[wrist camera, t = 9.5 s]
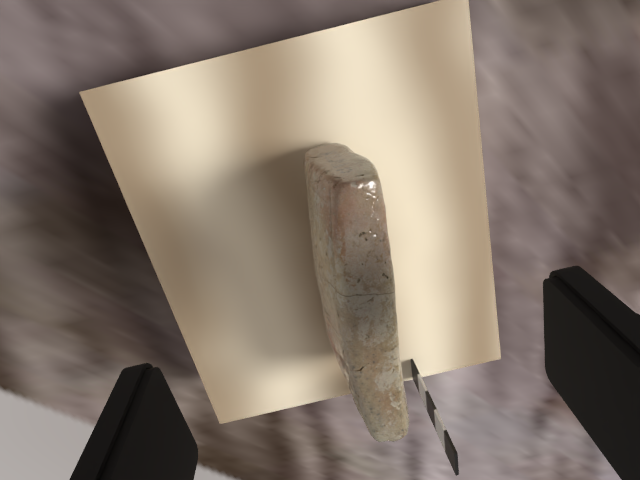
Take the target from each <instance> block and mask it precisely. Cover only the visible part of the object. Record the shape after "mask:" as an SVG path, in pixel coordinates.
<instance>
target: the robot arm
mask: <svg viewBox="0 0 640 480" xmlns="http://www.w3.org/2000/svg"><path fill="white" fill-rule="evenodd" d="M543 302H544V342H545V369H546V373H547V376H548V378H549V380H550V382H551V383H552V385H553V386H554V388H555V389H556V390H557V392H558V393H559V394H560V396H561V397H562V399H563V400H564V401H565V403H566V404H567V405H568V407H569V408H570V409H571V411H572V412H573V414H574V415H575V416H576V418H577V419H578V420H579V422H580V423H581V425H582V426H583V427H584V429H585V430H586V431H587V433H588V434H589V436H590V437H591V438H592V440H593V441H594V442H595V444H596V445H597V447H598V448H599V449H600V451H601V452H602V453H603V455H604V456H605V457H606V459H607V460H608V462H609V463H610V464H611V466H612V467H613V468H614V470H615V471H616V473H617V474H618V475H619V477H620V478H621V479H622V480H640V315H639V314H637V313H635V312H634V311H633V310H631V309H630V308H629V307H628V306H627V305H625V304H624V303H623V302H622V301H621V300H619V299H618V298H617V297H616V296H615V295H613V294H612V293H611V292H610V291H609V290H607V289H606V288H605V287H604V286H603V285H601V284H600V283H599V282H598V281H597V280H595V279H594V278H593V277H592V276H591V275H589V274H588V273H587V272H586V271H585V270H583V269H582V268H581V267H579V266H572V267H568V268H564V269H559V270H555V271H552V272H551V273H550V275H549V278H548V279H545V280H544V282H543ZM197 460H198V448H197V444H196V442H195V440H194V438H193V436H192V433H191V431H190V429H189V427H188V425H187V423H186V421H185V419H184V417H183V415H182V413H181V411H180V409H179V407H178V405H177V403H176V401H175V398H174V396H173V394H172V392H171V390H170V388H169V386H168V384H167V382H166V380H165V378H164V376H163V374H162V372H161V370H160V369H159V368H158V367H155V368H153V366H152V365H151V364H149V363H145V364H141V365H136V366H132V367H127V368H125V369H123V370H122V372H121V374H120V376H119V378H118V380H117V382H116V384H115V386H114V388H113V390H112V392H111V394H110V397H109V399H108V401H107V403H106V405H105V407H104V409H103V411H102V413H101V415H100V417H99V419H98V422H97V424H96V426H95V428H94V430H93V432H92V434H91V436H90V438H89V440H88V442H87V444H86V447H85V449H84V451H83V453H82V455H81V457H80V459H79V461H78V463H77V465H76V467H75V470H74V471H73V473H72V476H71V478H70V480H193V479H194V475H195V470H196V465H197Z"/></svg>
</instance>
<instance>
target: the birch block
mask: <svg viewBox="0 0 640 480" xmlns="http://www.w3.org/2000/svg"><path fill="white" fill-rule="evenodd" d="M79 93H80V95H81V97H82V100H83V102H84V104H85V107H86V109H87V112H88V114H89V116H90V119H91V121H92V123H93V126H94V128H95V130H96V133H97V135H98V137H99V140H100V142H101V145H102V147H103V149H104V152H105V154H106V156H107V159H108V161H109V163H110V166H111V168H112V170H113V173H114V175H115V177H116V180H117V182H118V185H119V187H120V189H121V192H122V194H123V196H124V199H125V201H126V203H127V206H128V208H129V210H130V213H131V215H132V217H133V220H134V222H135V225H136V227H137V229H138V232H139V234H140V236H141V239H142V241H143V243H144V246H145V248H146V250H147V253H148V255H149V258H150V260H151V262H152V265H153V267H154V269H155V272H156V274H157V276H158V279H159V281H160V283H161V286H162V288H163V290H164V293H165V295H166V298H167V300H168V302H169V305H170V307H171V309H172V312H173V314H174V316H175V319H176V321H177V323H178V326H179V328H180V330H181V333H182V335H183V338H184V340H185V342H186V345H187V347H188V349H189V352H190V354H191V356H192V359H193V361H194V363H195V366H196V368H197V371H198V373H199V375H200V378H201V380H202V382H203V385H204V387H205V389H206V392H207V394H208V396H209V399H210V401H211V403H212V406H213V408H214V411H215V413H216V415H217V418H218V420H219V422H220V424H222V423H226V422H230V421H235V420H239V419H243V418H248V417H252V416H256V415H261V414H265V413H269V412H274V411H278V410H282V409H286V408H291V407H295V406H299V405H304V404H308V403H312V402H317V401H321V400H325V399H330V398H334V397H338V396H342V395H347V394H351V392H350V390H349V387H348V384H347V381H346V378H345V377H344V375H343V374H342V372H341V369H340V367H339V364H338V362H337V359H336V356H335V353H334V350H333V348H332V346H331V344H330V341H329V338H328V335H327V331H326V326H325V321H324V316H323V310H322V302H321V297H320V292H319V288H318V284H317V279H316V274H315V269H314V262H313V251H312V243H311V230H310V221H309V213H308V198H307V189H306V182H305V174H304V165H303V162H304V156H305V153H306V152H307V151H308V150H309V149H313V148H314V147H317V146H321V145H326V144H329V143H339V144H343V145H346V146H347V147H349V148H350V149H351V150H352V151H353V152H354V153H356V154H358V155H361V156H364V157H366V158H367V159H369V160H370V161H371V162H372V163H373V164H374V166H375V168H376V169H377V172H378V174H379V178H380V182H381V186H382V192H383V198H384V202H385V207H386V218H387V229H388V235H389V241H390V247H391V258H392V264H393V271H394V280H395V296H396V313H397V320H398V336H399V353H400V360H401V367H402V375H403V381H407V380H411V379H413V378H412V369H411V360H410V359H413V360H414V363H415V365H416V367H417V369H418V371H419V373H420V375H421V377H424V376H429V375H433V374H437V373H442V372H446V371H450V370H454V369H459V368H463V367H467V366H472V365H476V364H480V363H485V362H489V361H493V360H498V359H501V355H500V344H499V333H498V322H497V311H496V300H495V289H494V278H493V266H492V255H491V244H490V233H489V222H488V211H487V200H486V189H485V178H484V167H483V156H482V145H481V134H480V123H479V112H478V101H477V89H476V78H475V67H474V56H473V45H472V34H471V23H470V12H469V1H468V0H440V1H436V2H432V3H428V4H424V5H420V6H416V7H412V8H408V9H404V10H401V11H397V12H393V13H389V14H385V15H381V16H377V17H373V18H369V19H365V20H361V21H357V22H353V23H349V24H345V25H341V26H338V27H334V28H330V29H326V30H322V31H318V32H314V33H310V34H306V35H302V36H298V37H294V38H290V39H286V40H282V41H278V42H275V43H271V44H267V45H263V46H259V47H255V48H251V49H247V50H243V51H239V52H235V53H231V54H227V55H223V56H219V57H215V58H212V59H208V60H204V61H200V62H196V63H192V64H188V65H184V66H180V67H176V68H172V69H168V70H164V71H160V72H156V73H152V74H148V75H145V76H141V77H137V78H133V79H129V80H125V81H121V82H117V83H113V84H109V85H105V86H101V87H97V88H93V89H89V90H85V91H82V92H79Z"/></svg>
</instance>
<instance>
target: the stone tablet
mask: <svg viewBox="0 0 640 480" xmlns="http://www.w3.org/2000/svg"><path fill="white" fill-rule="evenodd" d="M303 165H304V174H305V182H306V189H307V198H308V213H309V221H310V230H311V243H312V251H313V262H314V269H315V274H316V279H317V284H318V288H319V292H320V297H321V302H322V310H323V316H324V321H325V326H326V331H327V335H328V338H329V341H330V344H331V346H332V348H333V350H334V353H335V356H336V359H337V362H338V364H339V367H340V369H341V372H342V374H343V375H344V377H345V378H346V381H347V384H348V387H349V390H350V392H351V394H352V396H353V400H354V402H355V405H356V406H357V409H358V411H359V413H360V414H361V416H362V418H363V420H364V422H365V424H366V426H367V428H368V430H369V432H370V434H371V436H372V437H373V438H374V439H375V440H376V441H378V442H384V441H388V440H389V441H397V440H400V439H401V438H403V437H404V436H405V435H406V434H407V432H408V427H409V417H408V407H407V400H406V394H405V389H404V384H403V375H402V367H401V360H400V353H399V336H398V320H397V313H396V296H395V280H394V271H393V264H392V258H391V247H390V241H389V235H388V229H387V218H386V207H385V202H384V198H383V192H382V186H381V182H380V178H379V174H378V172H377V169H376V168H375V166H374V164H373V163H372V162H371V161H370V160H369V159H367V158H366V157H364V156H361V155H358V154H356V153H354V152H353V151H352V150H351V149H350V148H349V147H347V146H346V145H343V144H339V143H329V144H326V145H321V146H317V147H314V148H313V149H309V150H308V151H307V152H306V153H305V156H304V162H303ZM410 360H411V369H412V378H413V380H414V382H415V385H416V387H417V389H418V391H419V394H420V396H421V398H422V400H423V403H424V405H425V407H426V409H427V412H428V414H429V416H430V418H431V421H432V423H433V425H434V427H435V430H436V432H437V434H438V436H439V439H440V441H441V443H442V445H443V448H444V450H445V452H446V454H447V457H448V459H449V461H450V463H451V466H452V468H453V470H454V472H455V475H459V470H458V455H457V451H456V449H455V447H454V445H453V443H452V441H451V439H450V437H449V434H448V432H447V430H446V428H445V426H444V424H443V422H442V420H441V418H440V415H439V413H438V411H437V409H436V407H435V405H434V403H433V401H432V398H431V396H430V394H429V392H428V390H427V388H426V386H425V384H424V382H423V379H422V377H421V375H420V373H419V371H418V369H417V367H416V365H415V363H414V360H413V359H410Z"/></svg>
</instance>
